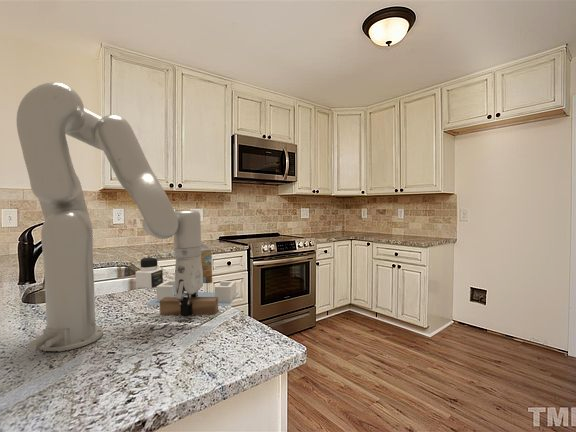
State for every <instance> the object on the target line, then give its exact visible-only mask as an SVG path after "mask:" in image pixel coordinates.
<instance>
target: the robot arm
mask: <svg viewBox="0 0 576 432" xmlns="http://www.w3.org/2000/svg"><path fill="white" fill-rule="evenodd" d="M16 130H17V134H18V139H19V143H20V146H21V151H22V156H23V159H24V160H23V161H24V164H25V167H26V170H27V174H28V179H29V184H30V187H31V188H30V189H31V191H32V193H33V195H34V196H35V197H36V198H37V199H38V201H39V205H40V208H41V212H42V215H43V219H44V222H43V224H42V227H41V232H40V236H41V237H40V239H41V249H42V260H43V274H44V276H43V278H44V294H45V297H44V298H45V316H46V318H45V319H46V320H45V321H46V328H43V329H42V334H41V335H40V337H37V338H35V339H33V340H31V341H29V342H28V343H27V348H28V350H30V351H36V350H37V349H39V350H40V351H42V350H43V351H42V352H46V351H58V352H64V351H65V350H66V351H70V350H75V349H79V348H81V347H84V346H87V345H90V344H92V343H94V342H96V341H98V340H99V339H100V338H101V337H102V336H103V334H104V329H103V327H102V326H99V325H96V305H95V304H96V303H95V273H94V251H93V249H94V248H93V246H94V245H93V241H94V237H93V236H94V232H93V231H94V230H93V224H92V221H91V217H90V214H89V211H88V207H87V202H86V199H85V195H84V192H83V189H82V184H81V181H80V178H79V176H78V175H77V173H76V171H75V168H74V164H73V161H72V157H71V155H70V148H69V145H68V141H67V137H66V135H67V136H69V137H72V138H74V139H76V140H78V141H81V142H82V143H84V144H87V145H89V146H91V147H93V148H95V149H98V150H100V151H103V153H104V155H105V156H106V159H107V160H108V163H109V165H110V166H111V169H112V171H113V172H114V175H115V176H116V179H117V180H118V182H119V184H120V185H121V187H122V188H124V190H125V191H126V192H127V193H128V194H129V195H130V197H131V198H132V199H133V201H134V203H135V204H136V206H137V208H138V210H139V213H140V214H141V216H142V223H141V225H142V228H143V230H144V232H145V233H146V234H148V235H149V236H151V237H153V238H156V239H161V240H166V239H169V238H172V237H173V253H174V254H173V255H174V256H173V257H174V260H175V266H174V267H175V268H174V280H175V291H176V293H177V299H178V300H179V301H180V307H181V315H180V316H183V317H189V316H190V317H191V316H193V315H192V304H191V297H198V292H199V290H200V289H202V288H203V286H204V283H203V270H202V261H201V257H202V256H201V243H202V231H201V230H202V226H201V225H202V223H201V220H202V219H201V214H200V212H199V211H197V210H193V209H192V210H190V209H189V210H177V211H176V210H175V209H174V207H173V205H172V203H171V201H170V199H169V197H168V194H167V193H166V190H164V187H163V186H162V184H161V183H160V181H159V180H158V177H157V176H156V174H155V172H153V170H152V167H151V165H150V163H149V161H148V159H147V158H146V156H145V153H144V151H143V149H142V147H141V143H139V140H138V138H137V136H136V133H135V131H134V130H133V128H132V126H131V124H130V123H129V122H128V121H127V119H125V118H124V117H123V116H120V115H116V114H107V115H104V116H100V115H98V114H96V113H94V112H92V111H90V110H88V109H87V108H85V105H84V103H83V100H82V98H81V96H80V94H78V92H76V90H74V89H73V88H72V87H70V86H69V85H67V84H64V83H62V82H56V81H51V82H50V81H49V82H45V83H42V84H39V85H37V86H35V87H33V88H32V89H30V90H29V91H28V92H27V93H26V94H25V95H24V96H23V97H22V99H21V101H20V103H19V105H18V108H17V112H16ZM184 292H187V293H184ZM184 296H188V297H187V298H186V297H184ZM66 351H65V352H66Z"/></svg>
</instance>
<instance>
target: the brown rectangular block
mask: <svg viewBox="0 0 576 432" xmlns="http://www.w3.org/2000/svg"><path fill="white" fill-rule="evenodd" d="M186 298H187V297H186ZM191 304H192V316H194V315H214V316H215V315H216V314H217V313H218V311H219V306H218V297H191ZM159 314H160V315H161V316H162V315H167V316H168V315H171V316H172V315H174V316H175V315H180V316H182V315H181V307H180V301H179V300H178V299H177V297H164V298H163V299H161V300H160V305H159Z"/></svg>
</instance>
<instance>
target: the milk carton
mask: <svg viewBox="0 0 576 432" xmlns="http://www.w3.org/2000/svg"><path fill="white" fill-rule="evenodd" d="M212 250H213V249H212V248H211V247H209V246H208V245H207V244H204V243H203V242H201V256H202V257H201V261H202V270H203V284H212V283H213V260H212V259H213V257H212V253H213V252H212Z"/></svg>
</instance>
